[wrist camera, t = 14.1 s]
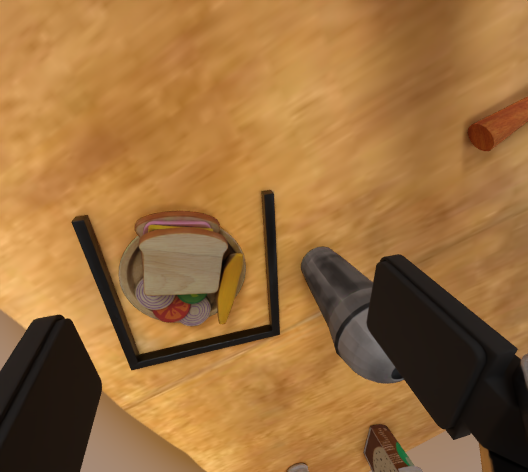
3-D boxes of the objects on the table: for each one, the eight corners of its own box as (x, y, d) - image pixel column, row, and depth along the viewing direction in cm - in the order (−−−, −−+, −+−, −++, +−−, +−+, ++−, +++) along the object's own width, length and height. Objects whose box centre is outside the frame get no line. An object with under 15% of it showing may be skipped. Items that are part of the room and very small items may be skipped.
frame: (75, 216, 26) (71, 221, 25) (270, 189, 29) (274, 193, 28) (132, 362, 34) (131, 370, 33) (277, 328, 38) (280, 334, 37)
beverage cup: (293, 294, 36) (396, 483, 19) (286, 245, 33) (406, 421, 15) (346, 278, 37) (490, 443, 20) (345, 229, 34) (519, 377, 16)
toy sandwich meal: (115, 312, 31) (105, 346, 27) (128, 193, 26) (119, 213, 22) (229, 318, 35) (235, 348, 31) (259, 217, 30) (271, 237, 26)
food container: (388, 448, 62) (421, 506, 54) (362, 456, 61) (392, 517, 52) (399, 413, 57) (438, 471, 48) (371, 421, 55) (406, 483, 47)
